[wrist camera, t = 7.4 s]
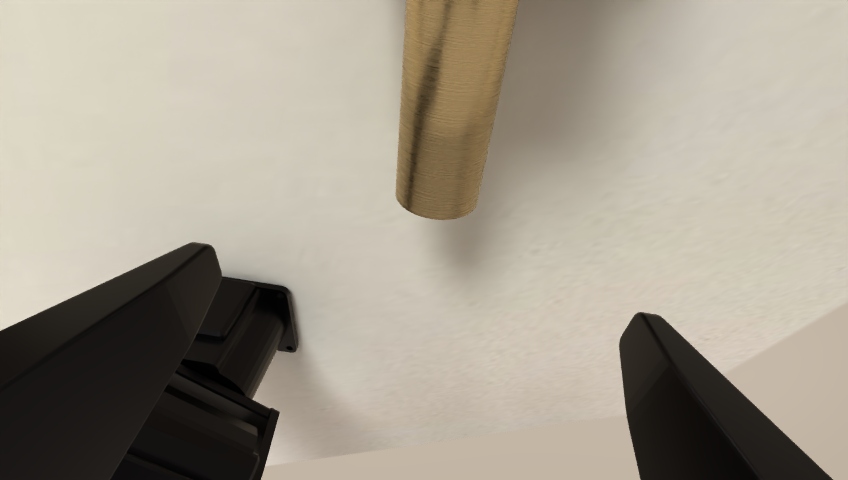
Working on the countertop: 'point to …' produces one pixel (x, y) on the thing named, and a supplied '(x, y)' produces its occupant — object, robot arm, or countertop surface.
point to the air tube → (449, 101)
